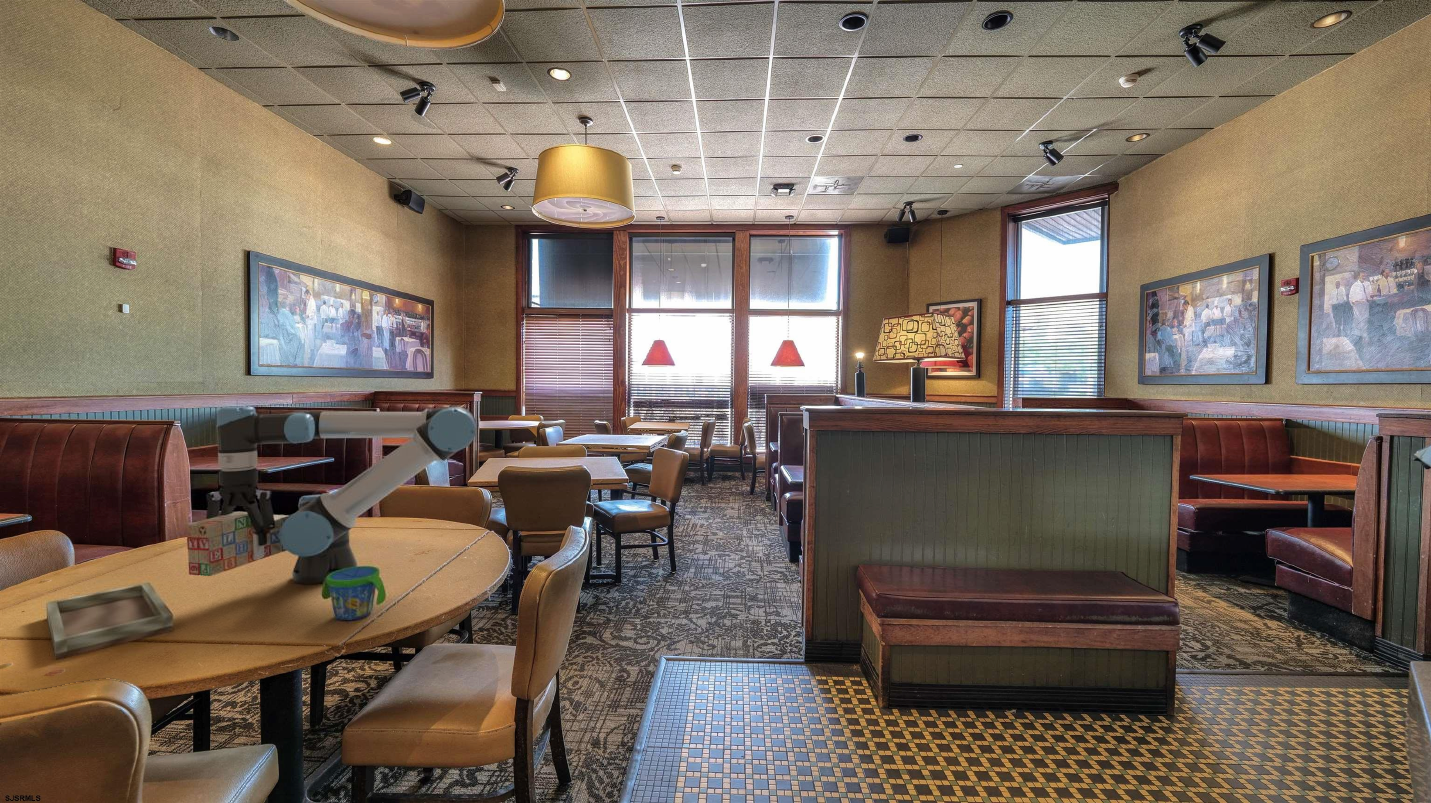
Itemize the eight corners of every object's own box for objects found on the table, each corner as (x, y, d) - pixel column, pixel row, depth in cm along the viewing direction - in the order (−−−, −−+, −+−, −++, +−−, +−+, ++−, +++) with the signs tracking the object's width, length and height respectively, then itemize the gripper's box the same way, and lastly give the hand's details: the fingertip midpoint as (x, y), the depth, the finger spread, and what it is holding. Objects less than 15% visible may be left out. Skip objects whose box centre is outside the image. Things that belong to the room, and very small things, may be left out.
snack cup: (398, 610, 138) (398, 569, 137) (359, 628, 128) (358, 583, 127) (349, 602, 142) (348, 562, 142) (307, 619, 132) (306, 576, 132)
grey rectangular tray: (149, 596, 145) (149, 582, 145) (173, 630, 126) (172, 614, 126) (46, 618, 132) (46, 602, 132) (55, 659, 113) (55, 641, 113)
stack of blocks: (273, 548, 156) (271, 503, 155) (292, 549, 155) (291, 504, 154) (188, 574, 135) (186, 523, 134) (210, 576, 134) (208, 524, 133)
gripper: (181, 471, 138) (185, 565, 139) (272, 470, 140) (275, 562, 141) (205, 467, 146) (209, 555, 147) (291, 465, 148) (294, 552, 149)
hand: (241, 558), depth 144 cm, fingers closed on stack of blocks, 7 cm apart
